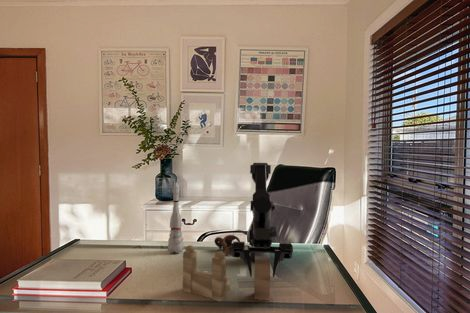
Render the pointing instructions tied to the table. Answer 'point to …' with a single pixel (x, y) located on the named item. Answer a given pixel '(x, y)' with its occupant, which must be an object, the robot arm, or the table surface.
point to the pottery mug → (226, 243)
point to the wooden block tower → (205, 276)
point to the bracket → (262, 276)
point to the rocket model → (175, 225)
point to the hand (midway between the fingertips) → (262, 276)
